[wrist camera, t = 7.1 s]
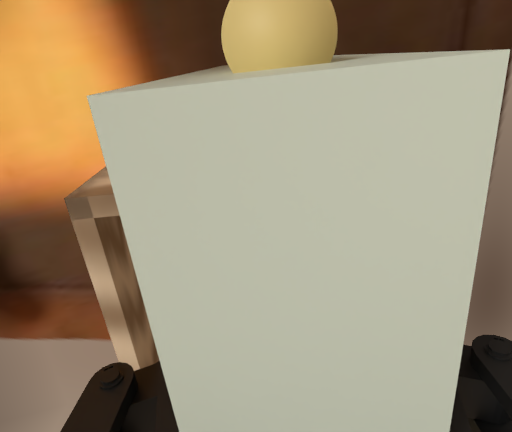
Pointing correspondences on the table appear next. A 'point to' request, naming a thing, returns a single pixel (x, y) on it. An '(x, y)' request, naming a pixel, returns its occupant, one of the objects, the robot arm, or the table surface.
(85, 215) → the cabinet
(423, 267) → the door
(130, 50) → the table surface
